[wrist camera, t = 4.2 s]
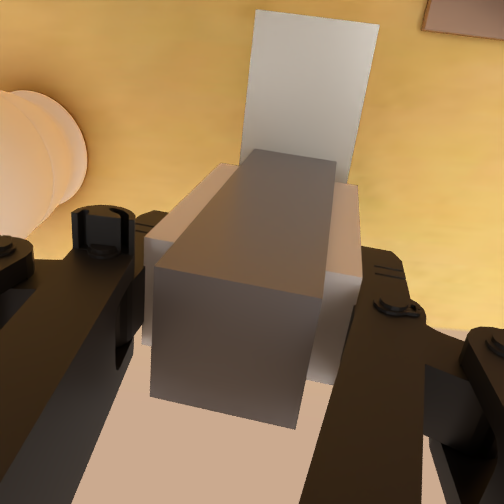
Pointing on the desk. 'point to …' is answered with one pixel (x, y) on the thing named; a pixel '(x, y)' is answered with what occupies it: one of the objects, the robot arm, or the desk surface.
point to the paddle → (264, 229)
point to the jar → (36, 160)
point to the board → (466, 18)
